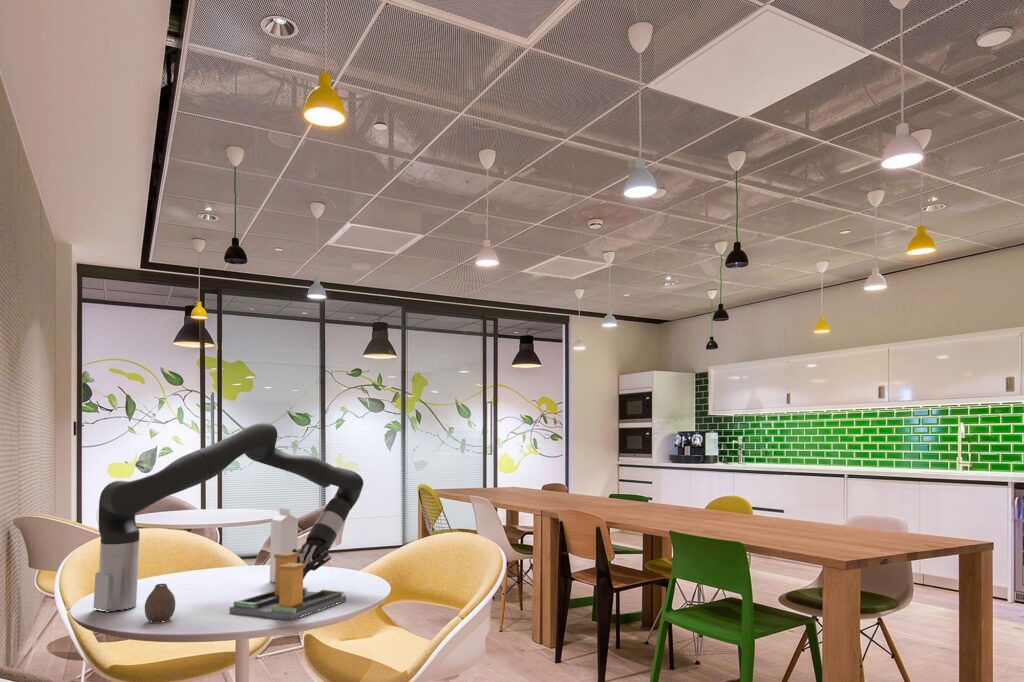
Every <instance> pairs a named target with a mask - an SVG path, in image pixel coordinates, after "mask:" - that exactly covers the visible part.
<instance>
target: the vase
mask: <svg viewBox="0 0 1024 682" xmlns="http://www.w3.org/2000/svg"><path fill="white" fill-rule="evenodd" d="M175 609H176V597H175V595H174V593H173V592H172V591H171V590H170V588H169V587H168V585H167V583H158V584H155V586H154V588H153V589H152V591H151V592H150V593H149V594H148V596H147V598H146V600H145V603H144V614H145V617H146V619H147V620H148V622H150V621H152V622H161V623H163V622H162V621H166V622H168V621H169V620H170V619H171V618H172V616H173V615H174V613H175ZM167 620H168V621H167ZM152 622H151V623H152Z"/></svg>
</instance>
